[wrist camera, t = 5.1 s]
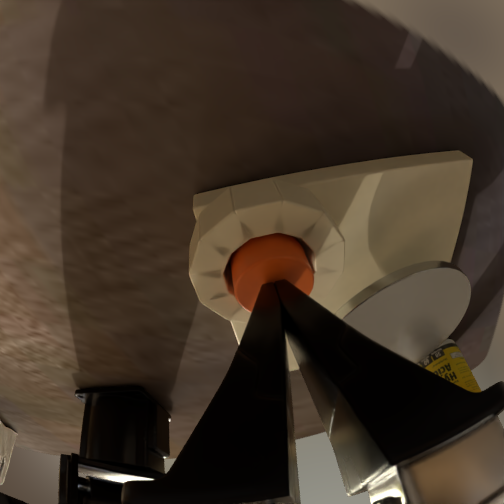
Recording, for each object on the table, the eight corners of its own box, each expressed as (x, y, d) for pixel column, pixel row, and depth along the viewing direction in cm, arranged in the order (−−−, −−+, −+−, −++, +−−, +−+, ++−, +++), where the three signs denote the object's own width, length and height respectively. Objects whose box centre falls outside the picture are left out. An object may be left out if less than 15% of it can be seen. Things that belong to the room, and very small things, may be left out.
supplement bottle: (437, 333, 22) (485, 426, 15) (460, 339, 25) (502, 417, 17) (396, 370, 25) (433, 458, 17) (424, 371, 27) (458, 447, 19)
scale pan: (313, 392, 18) (315, 400, 18) (310, 290, 12) (313, 301, 12) (439, 349, 18) (443, 355, 18) (485, 241, 12) (492, 248, 12)
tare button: (238, 290, 13) (243, 323, 11) (222, 236, 11) (226, 268, 10) (304, 275, 13) (315, 306, 11) (299, 219, 11) (313, 248, 10)
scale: (241, 366, 20) (247, 404, 18) (176, 185, 12) (169, 225, 9) (420, 317, 20) (437, 348, 18) (460, 139, 12) (500, 164, 9)
